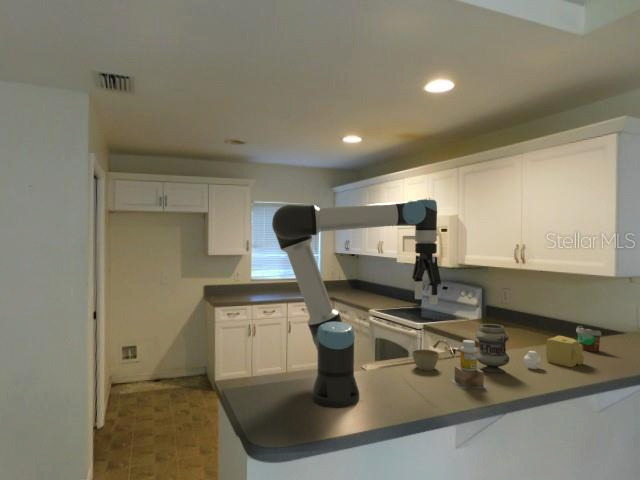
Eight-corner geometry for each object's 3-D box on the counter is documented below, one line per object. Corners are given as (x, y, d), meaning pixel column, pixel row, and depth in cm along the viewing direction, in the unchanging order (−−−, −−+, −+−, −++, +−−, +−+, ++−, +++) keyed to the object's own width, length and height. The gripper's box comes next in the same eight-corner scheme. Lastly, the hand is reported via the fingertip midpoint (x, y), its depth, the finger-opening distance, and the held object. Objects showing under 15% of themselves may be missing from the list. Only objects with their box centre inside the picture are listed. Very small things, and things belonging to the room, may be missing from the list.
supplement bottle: (461, 365, 150) (461, 338, 150) (477, 368, 148) (477, 340, 148) (459, 370, 145) (459, 341, 145) (476, 372, 143) (476, 343, 143)
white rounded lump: (544, 369, 167) (544, 351, 167) (534, 371, 164) (534, 353, 164) (530, 365, 173) (530, 347, 173) (520, 366, 170) (520, 349, 170)
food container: (569, 346, 203) (569, 325, 203) (581, 346, 204) (581, 325, 204) (588, 353, 191) (588, 331, 191) (601, 353, 192) (601, 331, 192)
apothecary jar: (473, 366, 170) (473, 322, 170) (505, 368, 168) (505, 323, 168) (478, 376, 158) (478, 328, 158) (512, 378, 156) (513, 329, 156)
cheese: (583, 363, 175) (583, 339, 175) (571, 368, 169) (571, 343, 169) (557, 358, 184) (558, 335, 184) (544, 362, 177) (545, 338, 177)
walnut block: (464, 387, 143) (464, 372, 143) (454, 380, 150) (454, 366, 150) (483, 386, 144) (483, 371, 144) (473, 379, 151) (473, 365, 151)
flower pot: (439, 375, 158) (439, 356, 158) (412, 373, 160) (412, 355, 160) (437, 367, 168) (437, 349, 168) (412, 366, 170) (412, 348, 170)
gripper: (451, 242, 140) (451, 306, 140) (422, 242, 165) (422, 296, 165) (430, 242, 139) (429, 307, 139) (404, 242, 164) (403, 297, 164)
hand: (425, 301), depth 152 cm, fingers open, 13 cm apart
